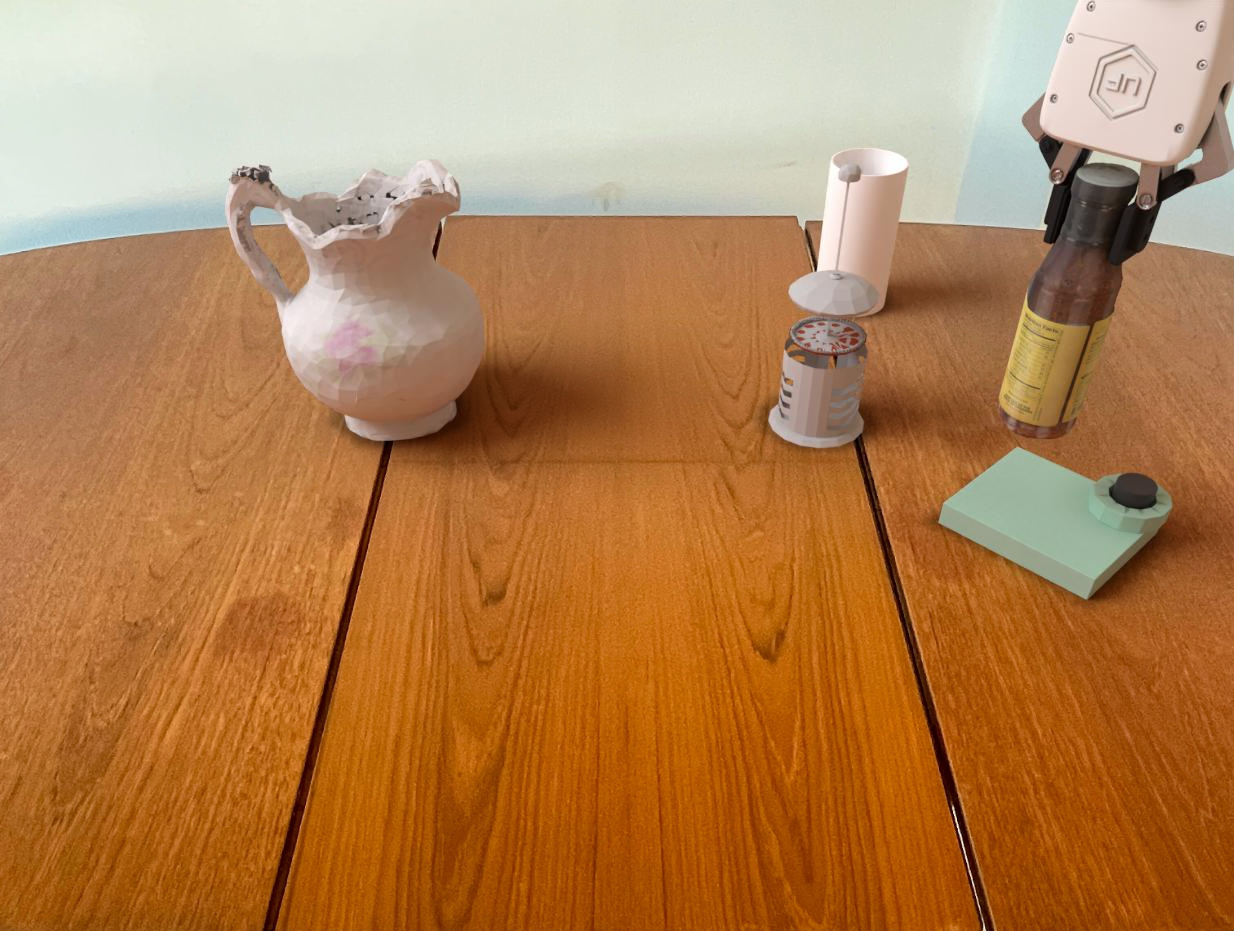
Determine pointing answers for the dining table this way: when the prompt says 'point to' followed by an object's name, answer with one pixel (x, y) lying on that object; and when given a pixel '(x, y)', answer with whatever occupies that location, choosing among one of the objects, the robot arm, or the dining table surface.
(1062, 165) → the robot arm
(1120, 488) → the tare button
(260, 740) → the dining table surface
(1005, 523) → the scale
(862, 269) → the white cylinder
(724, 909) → the dining table surface
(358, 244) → the ceramic pitcher
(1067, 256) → the sauce bottle
